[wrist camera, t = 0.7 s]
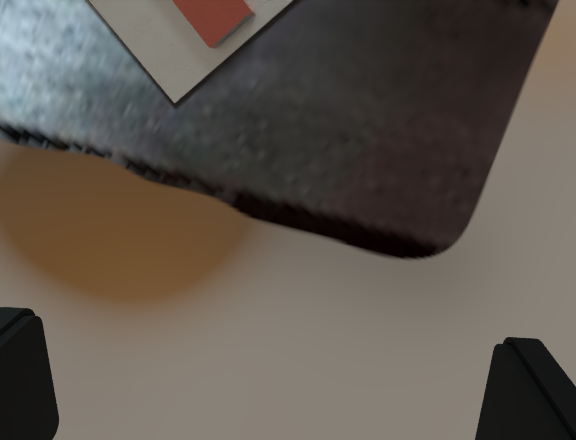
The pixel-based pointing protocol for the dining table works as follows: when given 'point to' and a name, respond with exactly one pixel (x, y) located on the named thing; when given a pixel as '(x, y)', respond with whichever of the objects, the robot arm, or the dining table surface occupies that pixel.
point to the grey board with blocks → (185, 34)
